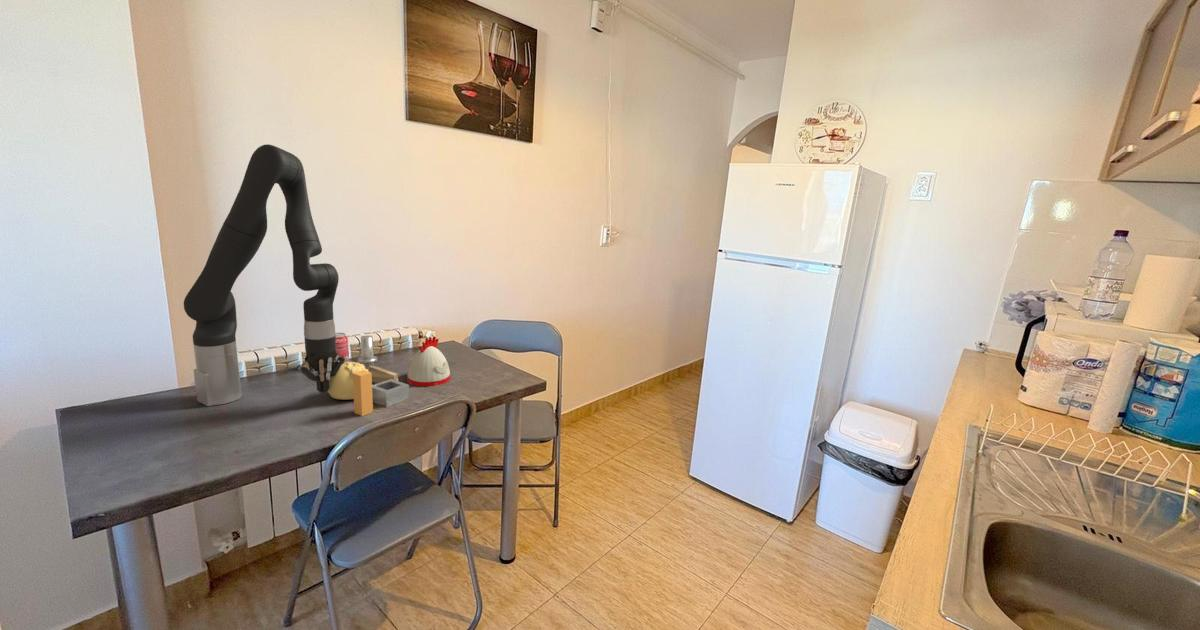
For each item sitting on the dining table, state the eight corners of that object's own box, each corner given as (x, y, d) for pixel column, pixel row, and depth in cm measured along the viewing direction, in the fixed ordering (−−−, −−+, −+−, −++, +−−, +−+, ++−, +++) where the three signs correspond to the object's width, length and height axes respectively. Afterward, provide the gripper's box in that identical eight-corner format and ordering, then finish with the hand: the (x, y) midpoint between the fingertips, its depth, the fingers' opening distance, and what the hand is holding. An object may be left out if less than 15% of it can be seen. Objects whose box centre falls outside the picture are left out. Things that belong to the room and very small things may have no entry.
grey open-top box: (386, 407, 137) (386, 392, 136) (369, 400, 140) (368, 386, 139) (409, 398, 144) (408, 384, 143) (391, 392, 147) (391, 378, 146)
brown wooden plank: (394, 389, 149) (393, 375, 148) (369, 380, 155) (369, 366, 153) (398, 388, 150) (397, 373, 149) (373, 379, 156) (373, 365, 155)
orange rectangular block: (362, 416, 130) (360, 376, 127) (354, 412, 132) (352, 373, 129) (373, 411, 133) (371, 372, 130) (365, 408, 135) (363, 369, 132)
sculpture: (373, 400, 140) (372, 366, 138) (327, 406, 134) (325, 371, 132) (369, 386, 150) (368, 355, 147) (326, 392, 144) (324, 359, 141)
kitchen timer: (458, 377, 164) (458, 336, 160) (429, 389, 151) (428, 346, 148) (428, 369, 169) (428, 329, 166) (398, 380, 157) (397, 338, 153)
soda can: (329, 364, 166) (327, 332, 164) (351, 363, 168) (349, 332, 166) (324, 371, 160) (322, 337, 157) (347, 370, 162) (345, 337, 159)
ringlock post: (365, 380, 154) (364, 340, 151) (354, 376, 157) (352, 337, 154) (381, 375, 160) (380, 336, 156) (370, 371, 162) (368, 333, 159)
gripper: (303, 342, 123) (307, 402, 127) (350, 332, 134) (353, 388, 138) (287, 336, 126) (292, 395, 130) (334, 327, 138) (337, 382, 142)
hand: (323, 391), depth 134 cm, fingers closed
